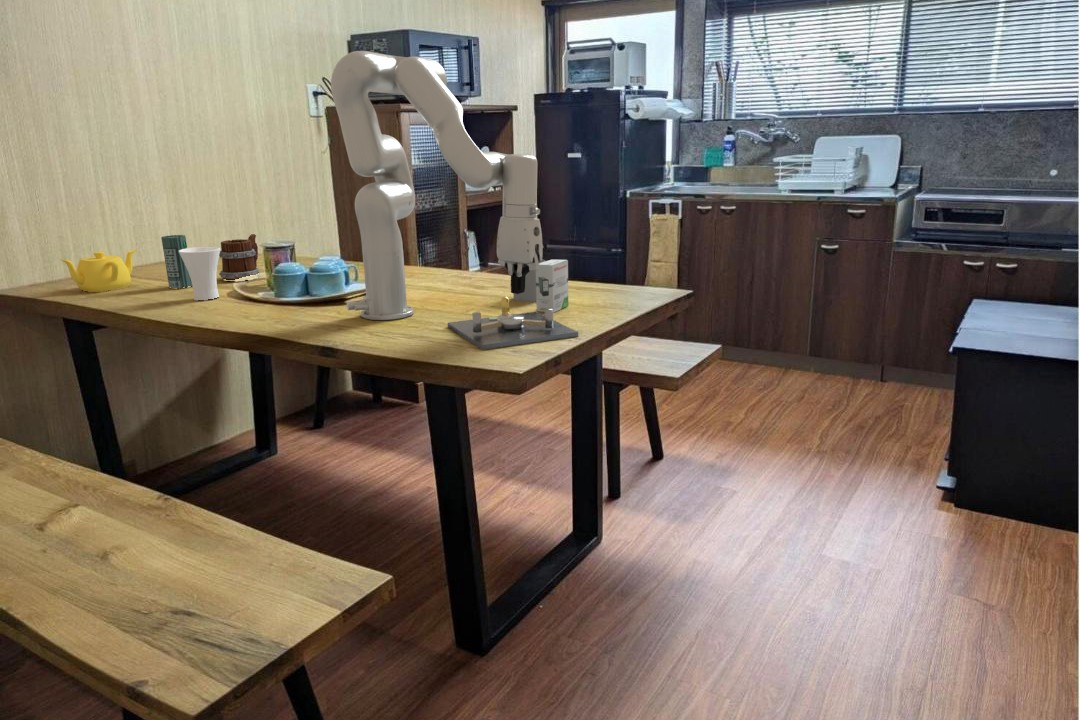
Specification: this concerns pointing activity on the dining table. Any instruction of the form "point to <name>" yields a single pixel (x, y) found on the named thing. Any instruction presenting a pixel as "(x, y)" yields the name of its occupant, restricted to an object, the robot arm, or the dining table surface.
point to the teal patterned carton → (175, 261)
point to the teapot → (102, 272)
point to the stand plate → (511, 332)
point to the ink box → (552, 285)
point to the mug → (239, 258)
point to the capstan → (511, 319)
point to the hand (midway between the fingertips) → (517, 292)
